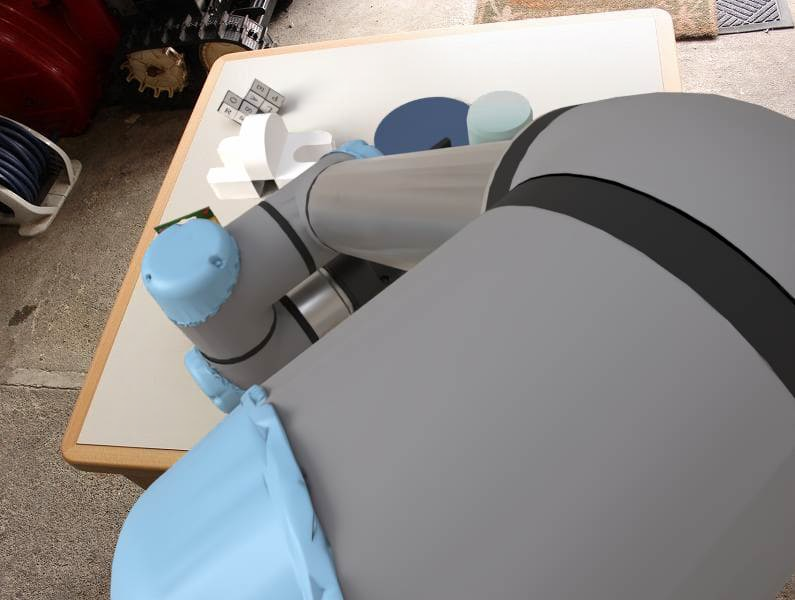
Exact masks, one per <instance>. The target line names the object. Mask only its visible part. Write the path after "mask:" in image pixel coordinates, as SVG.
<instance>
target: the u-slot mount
mask: <svg viewBox="0 0 795 600" xmlns="http://www.w3.org/2000/svg"><path fill="white" fill-rule="evenodd" d="M239 130H240V131H239V135H238V136H229V137H228V136H227V137H226V138H223V139H222V140H221V141H220V142H219V144H218V147H217V149H216V153H217V154H218V156H219V157H220V160H221V161H222V163H223V165H224V167H210V168H209V170H208V173H207V175H206V181H207V182H208V184H209V185H210V187H211V188H212V190H213V193H214V194H215V196H216V197H217V198H218V199H219V200H222V201H226V200H247V199H260V198H261V197H262V196H261V195H262V193H263V189H264V186H265V183H266V181H268V180H274V182H275V184H276V186H277V188H278V190H279V189H280V188H282V187H283V186H285V185H286V184H287V183H289V182H290V181H291V180H293V179H294V178H296V177H297V176H298V175H300V174H301V173H303V172H304V171H305V170H307V169H308V168H309V167H311V166H312V165H314V164H315V163H316V162H318V161H319V159H320V158H321V157H322V156H323V155H325V154H326V153H329V152H330V151H333V150H336V149H337V146H336V142H335V140H334V137H333V135H332V134H331V133H330V132H328V131H326V130H308V131H306V130H305V131H293V132H289V131H288V129H287V126H286V124H285V121H284V120H283V117H281V115H280V114H278V112H277V113H265V112H264V113H256V114H252V115H248V116H247V117H245V119H244V121H243V122H242V126H241V125H240V129H239Z"/></svg>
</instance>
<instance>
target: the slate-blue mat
mask: <svg viewBox="0 0 795 600" xmlns="http://www.w3.org/2000/svg"><path fill="white" fill-rule="evenodd" d="M470 106H471V105H469V104H467V103H466V102H464V101H461V100H459V99H456V98H452V97H446V96H427V97H422V98H417V99H414V100H410V101H408V102H405V103H403V104H401V105H399V106H397V107H395V108H394V109H392V110H391V111H390V112H389V113H387V114H386V115H385V116H384V117H383V118H382V119H381V121H380V122H379V124H378V126H377V127H376V130H375V132H374V136H373V144H374V145H373V146H374V147H375V148H377V149H378V150H379V151H380V152H381V153H382V154H383V155H384V156H387V155H395V154H403V153H411V152H419V151H427V150H428V149H430V148H431V147H433V146H434V145H435V144H437V143H438V142H440V141H441V140H442V139H444V138H445V137H447V138H449V139H450V140H451V146H452V147H458V146H466V145H470V144H469V136H468V127H467V115H468V111H469V108H470Z"/></svg>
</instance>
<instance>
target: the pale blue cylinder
mask: <svg viewBox="0 0 795 600" xmlns="http://www.w3.org/2000/svg"><path fill="white" fill-rule="evenodd" d="M469 106H470V108H469V111H468V115H467V127H468V136H469V144H470V145H474V144H482V143H490V142H498V141H506V140H512V138H513V137H514V136H515V135H516V134H517V133H518V132H519V131H520V130H521V129H522V128H524V127H525V126H526V125H527V124H528V123H530V122H531V121H533V120H534V113H533V109H532V105H531V103H530V101H529V100H528V99H527V98H526V97H525V96H524V95H523V94H521V93H518V92H516V91H511V90H496V91H491V92H487V93H485V94H482V95H481V96H479V97H477V98H476V99H475V100H474V101H473V102H472V103H471V104H470V105H469Z"/></svg>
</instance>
